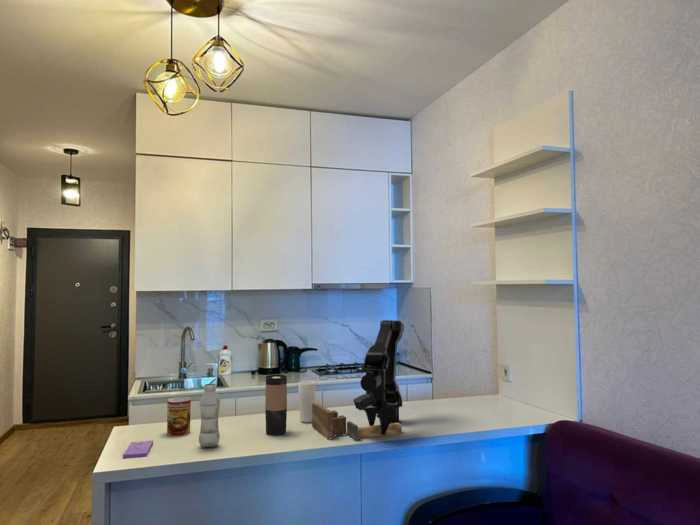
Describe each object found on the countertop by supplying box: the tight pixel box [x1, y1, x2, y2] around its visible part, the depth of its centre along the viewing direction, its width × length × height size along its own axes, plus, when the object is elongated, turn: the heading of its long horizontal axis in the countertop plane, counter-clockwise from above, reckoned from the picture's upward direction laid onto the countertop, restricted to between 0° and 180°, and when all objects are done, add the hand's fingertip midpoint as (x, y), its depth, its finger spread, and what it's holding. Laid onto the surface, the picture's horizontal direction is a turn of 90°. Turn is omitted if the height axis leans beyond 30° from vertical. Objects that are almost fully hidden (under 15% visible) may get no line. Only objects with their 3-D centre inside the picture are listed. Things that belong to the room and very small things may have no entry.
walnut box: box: [311, 402, 347, 440], centre depth 178 cm, size 8×16×9 cm, turn 23°
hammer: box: [346, 420, 403, 442], centre depth 174 cm, size 19×6×5 cm, turn 113°
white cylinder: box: [297, 380, 317, 424], centre depth 193 cm, size 7×7×15 cm
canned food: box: [166, 396, 192, 437], centre depth 178 cm, size 8×8×12 cm
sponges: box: [122, 440, 154, 459], centre depth 158 cm, size 7×13×2 cm, turn 13°
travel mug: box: [264, 374, 288, 437], centre depth 178 cm, size 8×8×20 cm
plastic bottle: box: [198, 383, 221, 448], centre depth 163 cm, size 6×7×20 cm
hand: (377, 431), depth 174 cm, fingers open, 9 cm apart
